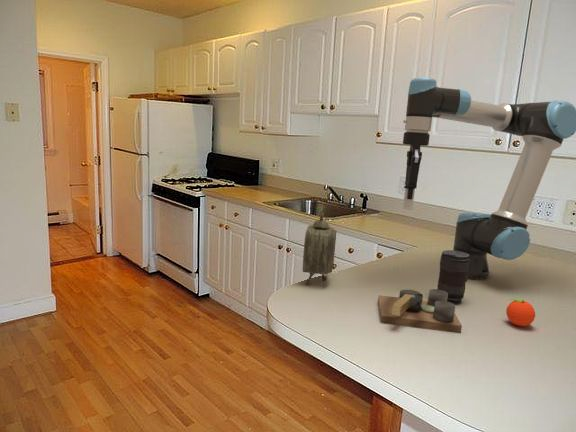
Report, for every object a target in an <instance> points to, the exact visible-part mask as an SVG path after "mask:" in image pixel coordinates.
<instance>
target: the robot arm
mask: <svg viewBox="0 0 576 432" xmlns="http://www.w3.org/2000/svg"><path fill="white" fill-rule="evenodd" d="M406 102H407V103H406V113H405V119H403V120H402V122H403V123H404V130H405V132H403V137H402V138H403V139H402V144H403V145H408V146H409V145H410V146H409V149H408V151H407V152H406V171H405V181H404V186H403V188H404V189H405V190H404V197H403V204H402V209H403V210H406V211H409V210H410V211H412V210H413V208H414V200H415V192H416V189H417V186H418V185H417V184H418V178H419V173H420V165H421V161H422V157H423V152H422V151H421V147H422V146H424V147H427V146H429V143H430V133H429V132H431V129H432V122H433V118H437V119H443V120H449V121H454V122H459V123H467V124H472V125H478V126H482V127H483V126H485V127H491V128H492V129H493V130H494V131H496V132H501V133H506V134H510V135H514V136H518V137H522V138H521V139H522V140H523V141H524V146H523V147H522V150H521V153H520V155H519V157H518V160H517V162H516V165H515V167H514V170H513V172H512V175H511V176H510V177H511V178H510V179H509V182H508V185H507V187H506V190H505V192H504V195H503V197H502V199H501V202H500V205H499V208H498V209H497V210H496V211H494V212H491V214H490V213H480V212H478V213H477V212H461V213H460V214H458V216H457V221H456V226H455V233H454V235H455V236H454V241H453V248H452V250H454V251H460V252H465V253H467V254H469V267H468V272H467V280H468V279H469V280H487V279H488V278H489V276H490V268H489V267H490V266H489V262H488V258H487V255H491V256H494V257H495V258H498V259H502V260H507V261H512V260H516V259H517V258H520V257H521V256H523V255H524V253H525V252H526V251H527V250H528V249H529V246H530V243H531V238H530V233H529V231H528V230H527V229H528V226H529V223H528V222H527V220H526V217H527V215H528V213H529V211H530V208H531V205H532V203H533V200H534V197H535V196H536V193H537V191H538V189H539V186H540V183H541V181H542V178H543V176H544V174H545V171H546V169H547V166H548V164H549V161H550V159H551V157H552V154H553V152H554V151H555V150H557V149H559V148H560V147H562V144H563V141H564V139H568V138H571V137H572V136H573V135H575V133H576V106H574V104H572V103H571V102H569V101H566V100H552V101H541V102H540V101H539V102H527V103H517V104H510V103H500V104H493V103H489V102H488V103H487V102H483V101H478V100H472V96H471V94H470V92H468V91H467V90H464V89H463V90H462V89H459V88H456V89H455V88H448V87H446V88H445V87H439V86H437V80H436V78H433V77H415V78H413V79H411V81H410V82H409V86H408V92H407V101H406Z"/></svg>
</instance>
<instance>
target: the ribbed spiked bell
mask: <svg viewBox="0 0 576 432" xmlns="http://www.w3.org/2000/svg"><path fill="white" fill-rule="evenodd" d="M324 211H325V206H324V205H322V206H321V207H320V216H319V219H317V220H315V221H314V222H313V224H312V225H310V224H309V225H308V226H307V227H306V231H305V233H304V234H305V235H304V244H303V256H302V258H303V259H302V272H303V273H308V274H309V276H308V278H307V279H306V280H305V281H304V283H305V285H307V286H308V285H310V284H311V279H312V277H313V276H314V275H315V274H317V275H321V276H322V277H321V278H320V279H321V281H322V282H326V281H327V277H326V275H328V274H331V273H332V272H333V270H334V269H333V268H334V262H335V254H336V253H335V252H336V244H337V243H336V241H337V230H336V229H335V228H333V227H331V226H330V224H329V222H328V221H326V220H325V219H324Z"/></svg>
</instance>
